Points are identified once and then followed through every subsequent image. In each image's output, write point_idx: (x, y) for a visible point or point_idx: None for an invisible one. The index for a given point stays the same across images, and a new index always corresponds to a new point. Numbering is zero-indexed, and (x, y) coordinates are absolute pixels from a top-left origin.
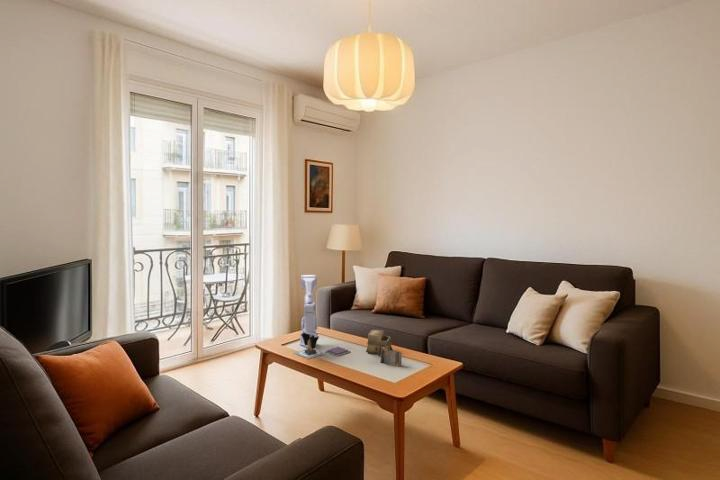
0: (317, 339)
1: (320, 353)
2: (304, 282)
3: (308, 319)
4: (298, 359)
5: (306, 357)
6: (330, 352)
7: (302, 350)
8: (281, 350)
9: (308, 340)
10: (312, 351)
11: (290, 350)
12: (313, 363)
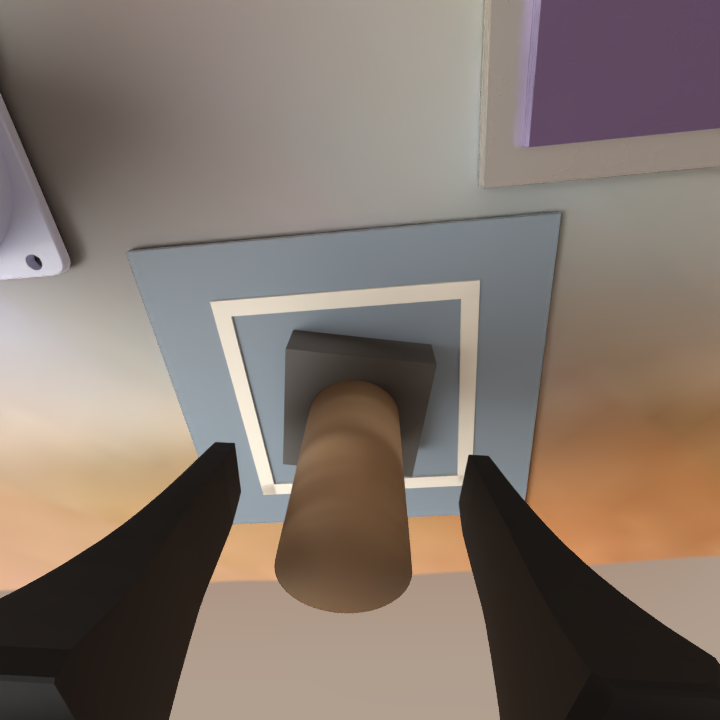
0: (638, 616)
1: (489, 298)
2: None
3: None
4: (439, 569)
5: None
6: (647, 144)
7: (187, 417)
8: (51, 552)
9: (317, 595)
10: (419, 421)
11: (93, 496)
12: (673, 536)
